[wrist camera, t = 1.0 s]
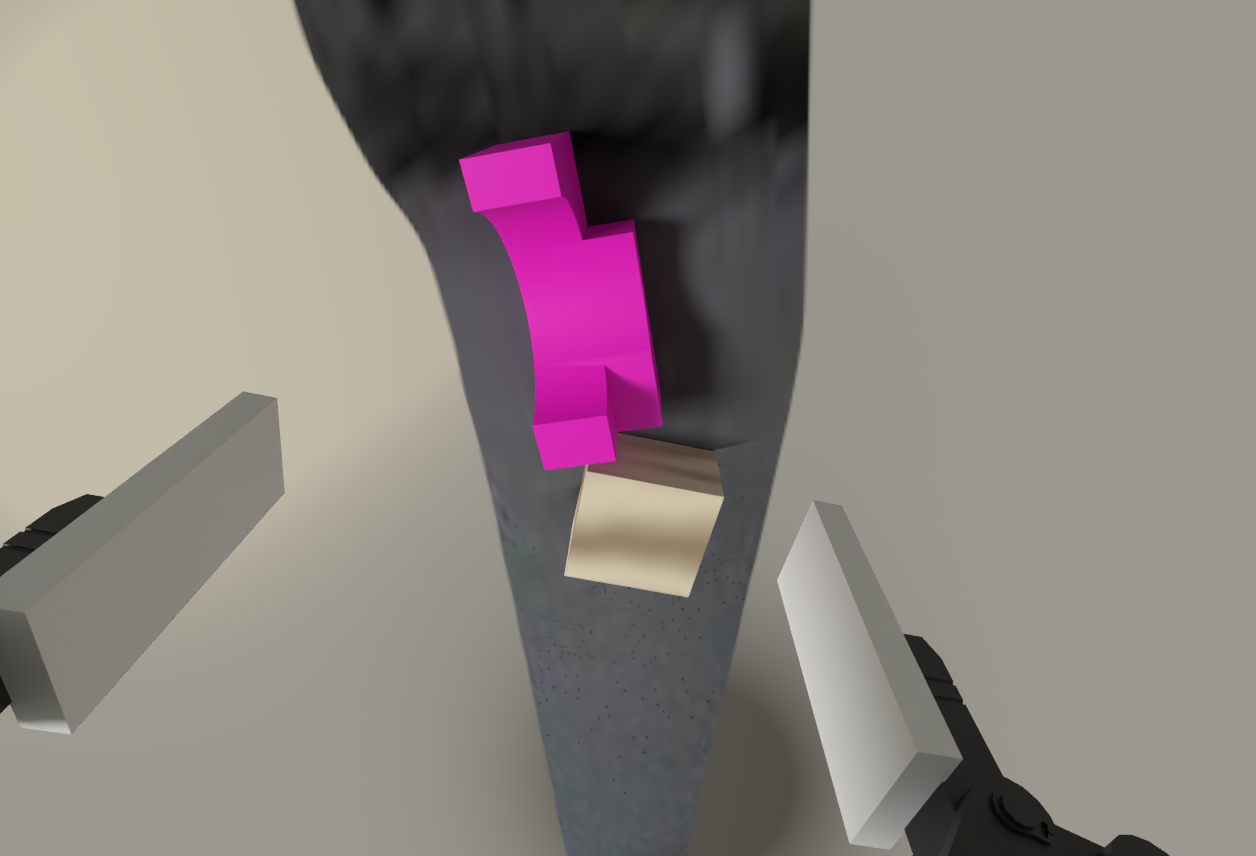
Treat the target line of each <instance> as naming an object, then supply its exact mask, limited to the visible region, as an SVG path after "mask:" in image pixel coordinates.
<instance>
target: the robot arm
mask: <svg viewBox="0 0 1256 856" xmlns="http://www.w3.org/2000/svg"><path fill="white" fill-rule="evenodd" d="M282 469H283V467H282V455H281V443H280V430H279V417H278V405H277V398H274V397H268V396H264V395H258V394H253V393H248V392H242V393H241V394H240V395H238V396H237V397H235V398H234V399H233V400H231V401H230V402H229V403H228V404H226V405H225V406H224V407H222V408H221V409H220V410H218V411H217V412H216V413H214V414H213V415H212V416H210V417H209V418H208V419H207V420H205V421H204V422H203V423H201V424H200V425H199V426H197V427H196V428H195V429H193V430H192V431H191V432H189V433H188V434H187V435H186V436H184V437H183V438H182V439H180V440H179V441H178V442H176V443H175V444H174V445H173V446H171V447H170V448H168V449H167V450H166V451H165V452H163V453H162V454H161V455H159V456H158V457H157V458H155V459H154V460H153V461H151V462H150V463H149V464H148V465H146V466H145V467H144V468H142V469H141V470H140V471H138V472H137V473H136V474H135V475H133V476H132V477H130V478H129V479H128V480H127V481H125V482H124V483H123V484H121V485H120V486H119V487H117V488H116V489H115V490H114V491H112V492H111V493H110V494H108V495H107V496H106V497H101V496H95V495H89V494H86V495H84V496H81V497H79V498H77V499H74V500H72V501H69V502H67V503H65V504H62V505H60V506H57V507H55V508H53V509H51V510H50V511H48V512H47V513H46V514H44V515H43V516H41V517H40V518H39V519H37V520H36V521H34V522H33V523H32V524H30V525H29V526H27V527H26V528H25V531H24V532H19V533H18V534H16V535H15V536H13V537H12V538H11V539H9V540H8V541H7V542H5V543H4V544H3V547H2V548H0V713H1V712H2V711H3V710H4V709H5V708H6V707H7V706H8V705H9V704H10V705H11V707H12V710H13V712H14V714H15V716H16V719H17V721H18V723H19V725H20V727H22V728H29V729H36V730H43V731H51V732H58V733H65V734H72V733H73V732H74V731H75V730H76V729H77V727H78V726H79V725H80V724H81V723H82V722H83V721H84V720H85V718H86V717H87V716H88V715H89V714H90V713H91V712H92V711H93V709H94V708H95V707H96V706H97V705H98V704H99V703H100V701H101V700H102V699H103V698H104V697H105V696H106V695H107V693H108V692H109V691H110V690H111V689H112V688H113V686H114V685H115V684H116V683H117V682H118V681H119V680H120V679H121V678H122V676H123V675H124V674H125V673H126V672H127V671H128V670H129V669H130V667H131V666H132V665H133V664H134V663H135V662H136V661H137V659H138V658H139V657H140V656H141V655H142V654H143V653H144V651H145V650H146V649H147V648H148V647H149V646H150V645H151V644H152V642H153V641H154V640H155V639H156V638H157V637H158V636H159V634H160V633H161V632H162V631H163V630H164V629H165V627H167V625H168V624H169V623H170V622H171V621H172V620H173V619H174V617H175V616H176V615H177V614H178V613H179V611H181V609H182V608H183V607H184V606H185V605H186V604H187V603H188V602H189V600H190V599H191V598H192V597H193V596H194V595H195V594H196V593H197V591H198V590H199V589H200V588H201V587H202V585H204V583H205V582H206V581H207V580H208V579H209V578H210V577H211V575H212V574H213V573H214V572H215V571H216V570H217V569H218V567H219V566H220V565H221V564H222V563H223V562H224V561H225V560H226V558H227V557H228V556H229V555H230V554H231V553H232V552H233V551H234V549H235V548H236V547H237V546H238V545H239V544H240V543H241V541H242V540H243V539H244V538H245V537H246V536H247V535H248V533H249V532H250V531H251V530H252V529H253V528H254V527H255V525H256V524H257V523H258V522H259V521H260V520H261V518H263V516H264V515H265V514H266V513H267V512H268V511H269V510H270V508H271V507H272V506H273V505H274V504H275V503H276V502H277V500H278V499H279V498H280V497H281V496H282V495H283V494H284V480H283V470H282ZM777 581H778V585H779V589H780V592H781V596H782V600H783V603H784V607H785V611H786V614H787V618H788V622H789V625H790V628H791V632H792V636H793V640H794V643H795V647H796V651H797V654H798V658H799V661H800V665H801V669H802V672H803V676H804V679H805V683H806V687H807V690H808V694H809V698H810V701H811V705H812V708H813V712H814V716H815V720H816V723H817V727H818V730H819V734H820V738H821V741H822V745H823V749H824V752H825V756H826V760H827V763H828V767H829V770H830V774H831V778H832V781H833V785H834V789H835V792H836V796H837V799H838V803H839V807H840V810H841V814H842V817H843V821H844V825H845V828H846V832H847V836H848V840H849V843H850V844H854V845H861V846H869V847H876V848H883V849H891V848H892V846H893V845H894V844H895V843H896V842H897V840H898V839H899V838H900V837H901V835H902V834H903V833H904V832H906V835H907V838H908V841H909V844H910V847H911V849H912V852H913V856H1169V855H1168V854H1167V853H1165V852H1164V851H1162V850H1161V849H1159V848H1158V847H1156V846H1155V845H1153V844H1152V843H1150V842H1149V841H1146V840H1144V839H1141V838H1139V837H1136V836H1133V835H1118V836H1117V837H1116V838H1115V839H1114V840H1113V841H1112V842H1110V843H1109V844H1108V845H1107V846H1106V847H1105V848H1104V847H1102V846H1100V845H1098V844H1096V843H1093V842H1091V841H1089V840H1087V839H1085V838H1082V837H1080V836H1078V835H1076V834H1074V833H1071V832H1070V831H1067V830H1065V829H1063V828H1061V827H1059V826H1057V825H1055V824H1054V823H1053V821H1052V819H1051V817H1050V815H1049V814H1048V813H1047V812H1046V810H1045V809H1044V808H1043V806H1042V805H1041V804H1040V802H1039V801H1038V800H1037V799H1036V798H1034V797H1033V796H1032V795H1031V794H1030V793H1029V792H1028V791H1026V790H1025V789H1024V788H1023V787H1022V786H1020V785H1018V784H1016V783H1014V782H1013V781H1011V780H1009V779H1007V778H1005V777H1003V775H1002V773H1001V771H1000V769H999V768H998V766H997V764H996V762H995V760H994V758H993V756H992V754H991V753H990V750H989V749H988V747H987V745H986V743H985V741H984V739H983V737H982V735H981V733H980V731H979V730H978V728H977V726H976V724H975V722H974V720H973V718H972V716H971V714H970V712H969V711H968V709H967V707H966V705H963V699H962V697H961V695H960V694H959V691H958V689H957V688H956V686H953V680H952V678H951V676H950V674H949V672H948V670H947V669H946V667H945V665H944V663H943V661H942V659H941V658H940V657H939V655H937V653H936V652H935V651H934V650H933V649H932V648H931V647H930V646H929V645H928V643H927V642H926V641H925V640H924V639H923V638H922V637H918V636H913V635H907V634H903V632H902V630H901V628H900V626H899V624H898V622H897V620H896V618H895V616H894V614H893V612H892V610H891V607H890V605H889V603H888V601H887V599H886V597H885V595H884V593H883V591H882V589H881V587H880V584H879V582H878V580H877V578H876V576H875V574H874V572H873V570H872V568H871V566H870V563H869V561H868V559H867V557H866V555H865V553H864V551H863V549H862V547H861V545H860V543H859V540H858V538H857V536H856V534H855V532H854V530H853V528H852V526H851V524H850V522H849V520H848V517H847V515H846V513H845V511H844V509H843V507H842V506H841V505H836V504H830V503H825V502H820V501H815V500H813V502H812V504H811V506H810V508H809V510H808V513H807V515H806V517H805V519H804V522H803V524H802V526H801V528H800V530H799V533H798V535H797V537H796V539H795V542H794V544H793V546H792V548H791V550H790V553H789V555H788V557H787V560H786V562H785V564H784V566H783V568H782V571H781V573H780V575H779V577H778V580H777Z"/></svg>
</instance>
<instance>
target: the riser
mask: <svg viewBox="0 0 1256 856" xmlns="http://www.w3.org/2000/svg"><path fill="white" fill-rule="evenodd" d="M723 499H724V494H723V489H722V484H721V479H720V474H719V469H718V464H717V459H716V454H715V452H714V451H709V450H704V449H699V448H694V447H689V446H684V445H678V444H673V443H668V442H663V441H658V440H653V439H648V438H643V437H637V436H632V435H627V434H622V433H618V439H617V453H616V461H611V462H604V463H596V464H588V465H585V469H584V473H583V478H582V483H581V487H580V492H579V497H578V501H577V506H576V511H575V515H574V520H573V525H572V531H571V537H570V544H569V550H568V556H567V563H566V569H565V575H564V576H569V577H575V578H581V579H586V580H592V581H598V582H604V583H610V584H615V585H621V586H627V587H633V588H638V589H644V590H650V591H656V592H661V593H667V594H673V595H679V596H685V597H689V594H690V591H691V588H692V585H693V583H694V580H695V577H696V574H697V571H698V569H699V566H700V563H701V560H702V558H703V555H704V552H705V549H706V546H707V544H708V541H709V538H710V535H711V532H712V530H713V527H714V524H715V521H716V518H717V516H718V513H719V510H720V507H721V505H722V502H723Z"/></svg>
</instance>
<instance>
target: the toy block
mask: <svg viewBox="0 0 1256 856" xmlns="http://www.w3.org/2000/svg"><path fill="white" fill-rule="evenodd" d="M459 161H460V165H461V168H462V172H463V176H464V179H465V183H466V186H467V190H468V194H469V197H470V201H471V205H472V208H473V212H479V213H482V214H483V215H485V216H486V217H487V218H488V219H489V220H490V221H491V223H492V224H493V225H494V227H495V228H496V230H497V231H498V233H499V235H500V237H501V238H502V240H503V243H504V245H505V247H506V249H507V251H508V254H509V256H510V259H511V261H512V264H513V267H514V270H515V272H516V276H517V279H518V282H519V285H520V289H521V292H522V296H523V300H524V304H525V309H526V313H527V318H528V323H529V329H530V334H531V341H532V348H533V356H534V366H535V384H536V397H535V413H534V420H533V429H534V433H535V436H536V440H537V444H538V447H539V451H540V454H541V458H542V462H543V465H544V469H545V470H550V469H557V468H565V467H573V466H580V465H588V464H596V463H604V462H611V461H616V453H617V439H618V432H621V431H629V430H636V429H644V428H651V427H659V426H663V425H662V409H661V392H660V386H659V379H658V373H657V366H656V360H655V353H654V347H653V340H652V334H651V327H650V321H649V314H648V308H647V301H646V295H645V288H644V282H643V275H642V269H641V262H640V256H639V250H638V243H637V237H636V230H635V224H634V219H631V220H625V221H619V222H613V223H607V224H601V225H595V226H589V227H588V226H587V220H586V215H585V210H584V205H583V199H582V194H581V189H580V184H579V178H578V173H577V168H576V163H575V157H574V152H573V147H572V142H571V136H570V131H568V132H563V133H557V134H552V135H547V136H541V137H536V138H530V139H525V140H519V141H514V142H509V143H503V144H498V145H495V146H492V147H490V148H487V149H485V150H482V151H480V152H477V153H475V154H472V155H470V156H467V157H465V158H462V159H460V160H459Z"/></svg>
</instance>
